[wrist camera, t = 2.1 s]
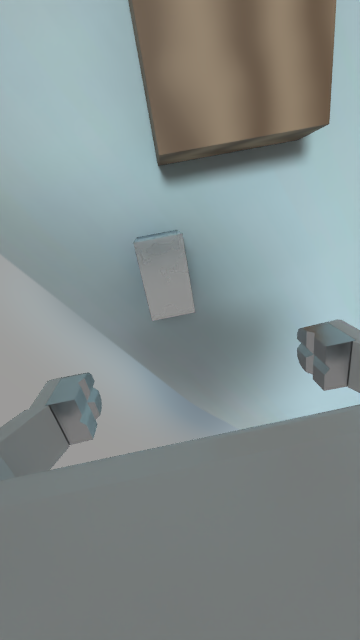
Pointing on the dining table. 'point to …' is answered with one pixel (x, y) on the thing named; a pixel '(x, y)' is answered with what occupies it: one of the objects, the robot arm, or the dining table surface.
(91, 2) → the dining table surface
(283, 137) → the walnut stand
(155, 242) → the block
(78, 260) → the dining table surface
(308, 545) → the robot arm
